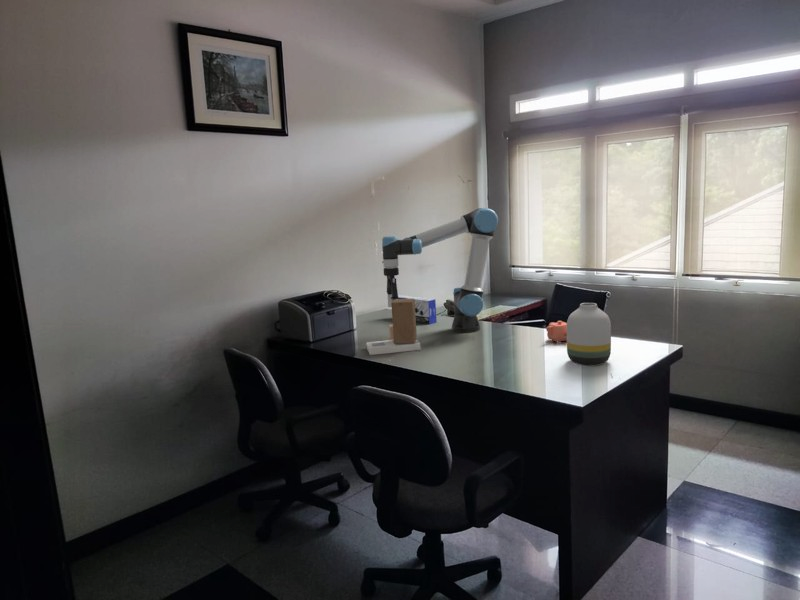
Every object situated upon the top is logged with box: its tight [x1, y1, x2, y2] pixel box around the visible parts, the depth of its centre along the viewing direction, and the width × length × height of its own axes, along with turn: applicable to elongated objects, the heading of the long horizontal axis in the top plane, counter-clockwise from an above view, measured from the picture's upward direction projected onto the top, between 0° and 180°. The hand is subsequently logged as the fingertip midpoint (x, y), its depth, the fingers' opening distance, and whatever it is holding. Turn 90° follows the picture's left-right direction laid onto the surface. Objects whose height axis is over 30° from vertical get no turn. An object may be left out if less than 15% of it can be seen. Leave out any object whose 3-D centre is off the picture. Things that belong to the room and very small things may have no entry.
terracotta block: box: [388, 323, 394, 340], centre depth 283 cm, size 5×5×8 cm
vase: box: [566, 302, 612, 366], centre depth 225 cm, size 17×17×24 cm
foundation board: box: [365, 339, 421, 356], centre depth 266 cm, size 24×13×3 cm, turn 100°
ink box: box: [397, 294, 437, 325], centre depth 329 cm, size 30×7×14 cm, turn 44°
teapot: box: [545, 320, 567, 344], centre depth 262 cm, size 12×12×10 cm
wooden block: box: [391, 299, 418, 344], centre depth 266 cm, size 10×10×20 cm
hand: (392, 309), depth 281 cm, fingers open, 13 cm apart
